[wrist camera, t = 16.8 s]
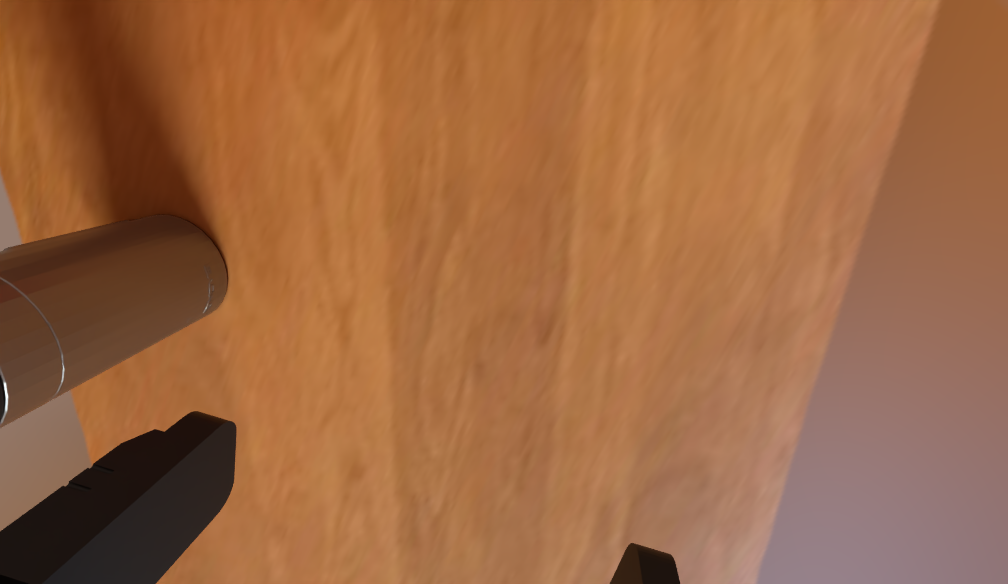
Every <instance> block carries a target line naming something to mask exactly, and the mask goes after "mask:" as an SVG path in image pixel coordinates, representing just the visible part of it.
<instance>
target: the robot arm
mask: <svg viewBox="0 0 1008 584" xmlns="http://www.w3.org/2000/svg"><path fill="white" fill-rule="evenodd" d="M226 289H227V272H226V268H225V265H224V261H223V259H222V257H221V255H220V253H219V251H218V249H217V248H216V246H215V245H214V244H213V242H212V241H211V239H210V238H209V237H208V236H207V235H206V234H205V233H204V232H203V231H201V230H200V229H199V228H197V227H196V226H195V225H193V224H192V223H190V222H188V221H186V220H184V219H182V218H178V217H175V216H171V215H154V216H149V217H145V218H141V219H136V220H132V221H129V220H124V221H119V222H115V223H111V224H107V225H102V226H98V227H94V228H89V229H85V230H81V231H77V232H72V233H68V234H64V235H60V236H55V237H51V238H47V239H43V240H38V241H34V242H30V243H25V244H21V245H17V246H13V247H8V248H6V249H4V250H3V251H1V252H0V428H2V427H3V426H5V425H7V424H9V423H11V422H13V421H14V420H16V419H18V418H20V417H22V416H23V415H25V414H27V413H29V412H31V411H33V410H34V409H36V408H38V407H40V406H42V405H44V404H45V403H47V402H49V401H51V400H52V399H54V398H56V397H58V396H60V395H62V394H63V393H65V392H67V391H69V390H71V389H73V388H74V387H76V386H78V385H80V384H82V383H84V382H86V381H87V380H89V379H91V378H93V377H95V376H97V375H98V374H100V373H102V372H104V371H106V370H108V369H109V368H111V367H113V366H115V365H117V364H119V363H120V362H122V361H124V360H126V359H128V358H130V357H131V356H133V355H135V354H137V353H139V352H141V351H143V350H144V349H146V348H148V347H150V346H152V345H154V344H155V343H157V342H159V341H161V340H163V339H165V338H166V337H168V336H170V335H172V334H174V333H176V332H178V331H179V330H181V329H183V328H185V327H187V326H189V325H190V324H192V323H194V322H196V321H198V320H200V319H201V318H203V317H205V316H207V315H209V314H210V313H212V312H213V311H214V310H216V309H217V308H218V307H219V305H220V304H221V303H222V301H223V299H224V296H225V294H226ZM235 450H236V425H235V423H234V422H231V421H228V420H225V419H221V418H218V417H215V416H211V415H208V414H205V413H201V412H198V411H194V412H191V413H189V414H187V415H186V416H184V417H183V418H182V419H180V420H179V421H178V422H177V423H175V424H174V425H173V426H171V427H170V428H169V429H168V430H166V431H165V432H163V431H160V430H156V429H154V430H152V431H150V432H147V433H145V434H143V435H140V436H138V437H135V438H133V439H131V440H128V441H126V442H123V443H121V444H120V445H118V446H117V447H116V448H114V449H113V450H112V451H110V452H109V453H107V454H106V455H105V456H103V457H102V458H101V459H99V460H98V461H96V462H95V463H94V464H93V466H92V467H91V468H90V469H89V468H87V469H86V470H84V471H83V472H81V473H80V474H79V475H77V476H76V477H74V478H73V479H72V480H70V481H69V484H68V485H67V486H66V487H65V486H62V487H61V488H59V489H58V490H57V491H55V492H54V493H52V494H51V495H50V496H48V497H47V498H46V499H44V500H43V501H42V502H40V503H39V504H37V505H36V506H35V507H33V508H32V509H30V510H29V511H28V512H26V513H25V514H24V515H22V516H21V517H20V518H18V519H17V520H16V521H14V522H13V523H11V524H10V525H9V526H7V527H6V528H4V529H3V530H2V531H0V584H156V583H157V582H158V580H159V579H160V578H161V577H162V576H163V575H164V574H165V573H166V571H167V570H168V569H169V568H170V567H171V566H172V565H173V564H174V562H175V561H176V560H177V559H178V558H179V557H180V556H181V555H182V553H183V552H184V551H185V550H186V549H187V548H188V547H189V546H190V544H191V543H192V542H193V541H194V540H195V539H196V538H197V537H198V535H199V534H200V533H201V532H202V531H203V530H204V529H205V528H206V526H207V525H208V524H209V523H210V522H211V521H212V520H213V519H214V517H215V516H216V515H217V514H218V513H219V512H220V510H221V509H222V507H223V506H224V504H225V503H226V501H227V499H228V497H229V495H230V492H231V490H232V487H233V483H234V471H235ZM610 584H680V581H679V576H678V572H677V568H676V564H675V561H674V558H673V557H672V555H670V554H668V553H664V552H661V551H658V550H654V549H651V548H648V547H644V546H641V545H638V544H634V543H631V544H629V545H628V547H627V549H626V550H625V553H624V555H623V557H622V559H621V561H620V563H619V565H618V567H617V570H616V572H615V574H614V576H613V578H612V580H611V582H610Z"/></svg>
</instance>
